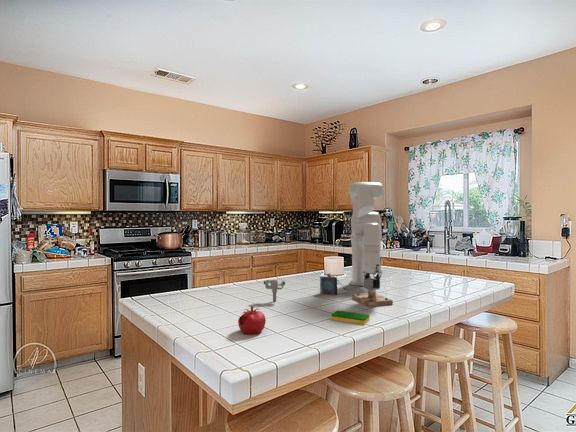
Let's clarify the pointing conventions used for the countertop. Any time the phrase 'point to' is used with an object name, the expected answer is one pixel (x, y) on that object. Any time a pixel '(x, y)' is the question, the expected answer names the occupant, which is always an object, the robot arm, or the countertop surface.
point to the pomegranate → (252, 321)
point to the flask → (328, 285)
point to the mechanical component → (273, 287)
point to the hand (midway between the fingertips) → (371, 286)
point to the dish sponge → (350, 317)
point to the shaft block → (372, 298)
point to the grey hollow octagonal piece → (369, 284)
